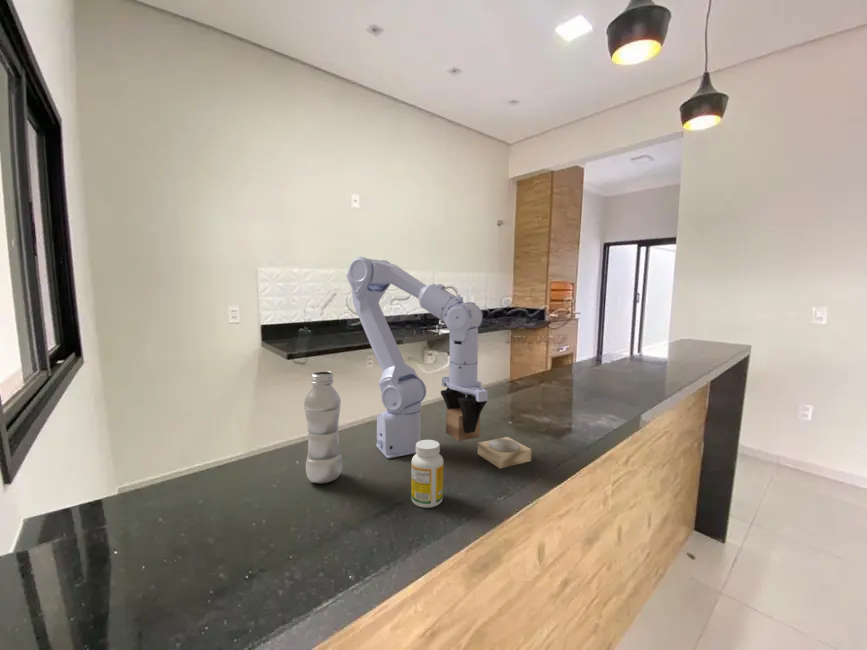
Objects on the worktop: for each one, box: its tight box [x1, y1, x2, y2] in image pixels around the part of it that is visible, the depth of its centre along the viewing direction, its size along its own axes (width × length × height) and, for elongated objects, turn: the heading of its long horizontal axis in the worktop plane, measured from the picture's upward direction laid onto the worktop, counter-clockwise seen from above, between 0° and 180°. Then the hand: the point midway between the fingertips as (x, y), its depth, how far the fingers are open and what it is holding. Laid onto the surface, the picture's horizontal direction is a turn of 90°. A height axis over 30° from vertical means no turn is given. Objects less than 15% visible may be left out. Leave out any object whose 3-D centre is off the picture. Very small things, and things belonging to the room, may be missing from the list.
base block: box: [477, 436, 532, 469], centre depth 80 cm, size 8×8×3 cm
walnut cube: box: [445, 408, 481, 442], centre depth 77 cm, size 5×5×5 cm
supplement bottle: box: [410, 439, 445, 509], centre depth 63 cm, size 5×5×10 cm
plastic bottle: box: [303, 370, 343, 484], centre depth 70 cm, size 6×7×20 cm
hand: (462, 427), depth 78 cm, fingers closed on walnut cube, 5 cm apart
